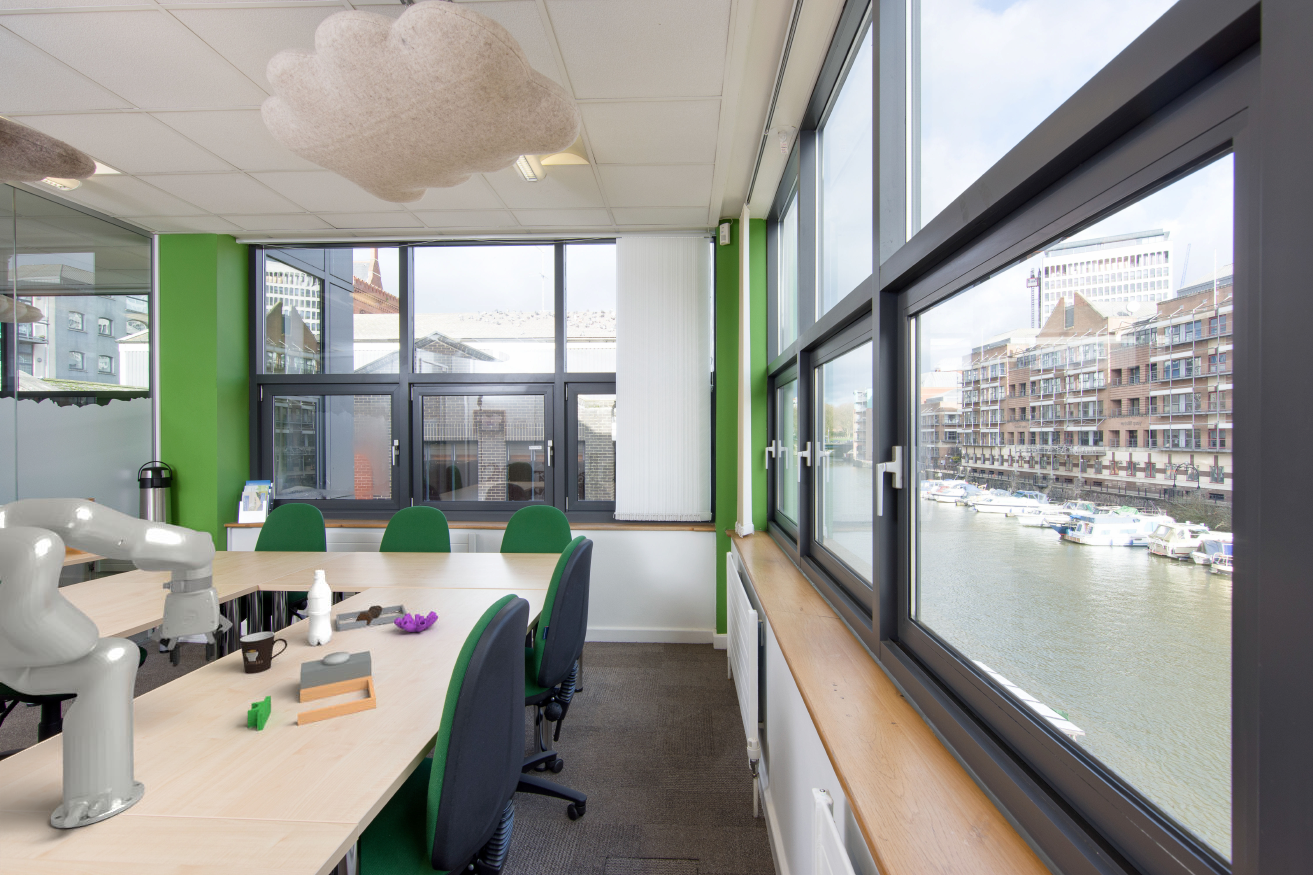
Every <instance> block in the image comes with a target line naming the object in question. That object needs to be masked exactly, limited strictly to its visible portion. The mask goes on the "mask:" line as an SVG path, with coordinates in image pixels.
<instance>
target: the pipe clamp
mask: <svg viewBox="0 0 1313 875" xmlns="http://www.w3.org/2000/svg"><path fill="white" fill-rule="evenodd" d="M250 708H251V709H248V710H247V728H248V729H250V728H256V727H257V731H258V732H260V731H263V730H264V729H265V727H266V724H267V722H268V719H269V717H270V715H271V712H272V696H271V695H267V696H265V697H264V700H262V701H256V702H251V707H250Z"/></svg>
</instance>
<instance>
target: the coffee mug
mask: <svg viewBox="0 0 1313 875" xmlns="http://www.w3.org/2000/svg"><path fill="white" fill-rule="evenodd" d="M275 635H276V634H275V632H274V631H260V632H255V633H250V634H247V635H245V636H242V637H241V638H239V640H240V649H241V653H242V654H241V655H242V661H243V662H242V663H243V668H244V672H245V674H248V675H249V674H250V675H251V674H252V675H253V674H258V673H263V672H266V671H267V670H269V669H271V668H272V660H273V659H274V658H277V656H280V654H282V653H283V652H284V651H285V650H286V649H287V647H288V642H287V640H286V639H284V638H278V639H277V638H276V639H275ZM278 642H283V643H284V647H283V648H282V650H280V651H279V652H278V653H276V654H274V655H273V651H274V646H275V644H276V643H278Z"/></svg>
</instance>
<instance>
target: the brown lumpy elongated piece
mask: <svg viewBox="0 0 1313 875" xmlns="http://www.w3.org/2000/svg"><path fill="white" fill-rule="evenodd" d="M382 608H383V606H381V605H371V606H370V607H369V609H367V610H368V612H360V614H359V615H358V617H357V619H355V621H362V620H367V625H369V624H370V622H371V621H372V619H375V618H380V616H381V615H380V613H381V612H382Z"/></svg>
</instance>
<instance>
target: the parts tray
mask: <svg viewBox="0 0 1313 875" xmlns="http://www.w3.org/2000/svg"><path fill="white" fill-rule="evenodd" d="M368 610H369V609H366V610H365V609H364V610H359V611H351V612H345V613H337V614H335V615H336V632H337V631H339V632H344V631H343V630H345V631H349V630H348V629H351V630H356V629H355V628H357V629H362V628H361V627H364V628H367V627H366V626H370V627H372V626H371V625H376V626H378V625H377V624H382V625H384V624H383V623H389V622H394V620H395V619H397V618H398V617H399V618H400V619H402V618H403V617H405V615H406V614H408V613H407V610H406V608H405V606H404V605H403V604H400V605H393V606H386V607H382V612H381V613H380V614H382V613H389V612H396V611H401V612H402V613H401V612H400V614H395V615H390V616H389V615H387V616H382V617H378V618H373V619H372V621H371V622H370V624H369V625H367V620H362V621H356V620H355V621H350V622H344V623H340V622H341V621H340V620H344V621H347V620H346V619H350V618H357V617H358V615H359V614H360V612H368ZM350 620H351V619H350ZM389 624H390V623H389Z"/></svg>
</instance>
